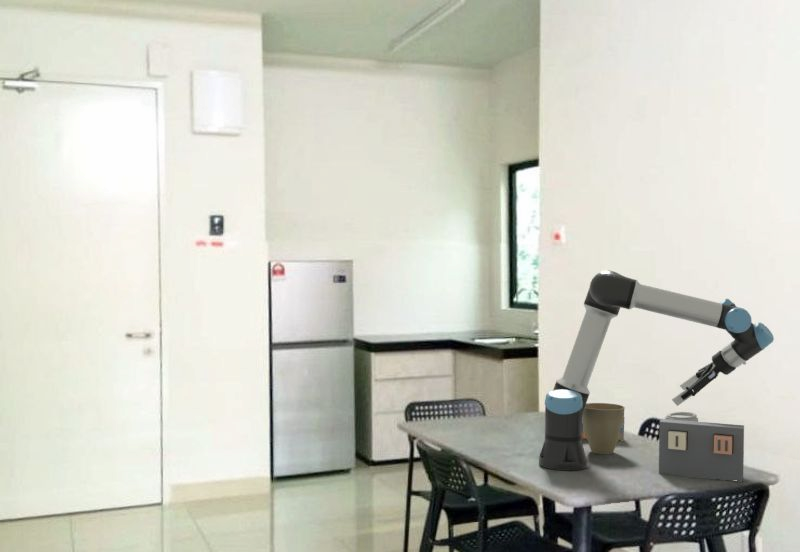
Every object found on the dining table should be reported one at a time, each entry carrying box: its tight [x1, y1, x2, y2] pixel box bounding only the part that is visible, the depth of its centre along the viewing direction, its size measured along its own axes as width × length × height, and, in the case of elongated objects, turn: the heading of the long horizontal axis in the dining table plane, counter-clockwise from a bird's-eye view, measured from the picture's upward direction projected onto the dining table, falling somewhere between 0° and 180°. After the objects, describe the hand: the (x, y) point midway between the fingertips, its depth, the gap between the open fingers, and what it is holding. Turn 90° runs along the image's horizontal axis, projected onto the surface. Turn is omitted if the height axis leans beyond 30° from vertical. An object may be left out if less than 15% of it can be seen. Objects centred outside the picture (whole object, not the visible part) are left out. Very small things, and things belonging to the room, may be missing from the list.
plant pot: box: [582, 402, 626, 455], centre depth 286 cm, size 15×15×16 cm
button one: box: [668, 431, 687, 450], centre depth 252 cm, size 3×5×5 cm, turn 66°
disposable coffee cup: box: [664, 411, 699, 422], centre depth 278 cm, size 11×11×15 cm
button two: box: [714, 435, 732, 455], centre depth 246 cm, size 3×5×5 cm, turn 66°
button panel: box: [658, 418, 745, 482], centre depth 253 cm, size 6×24×16 cm, turn 66°
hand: (678, 395), depth 279 cm, fingers open, 13 cm apart
